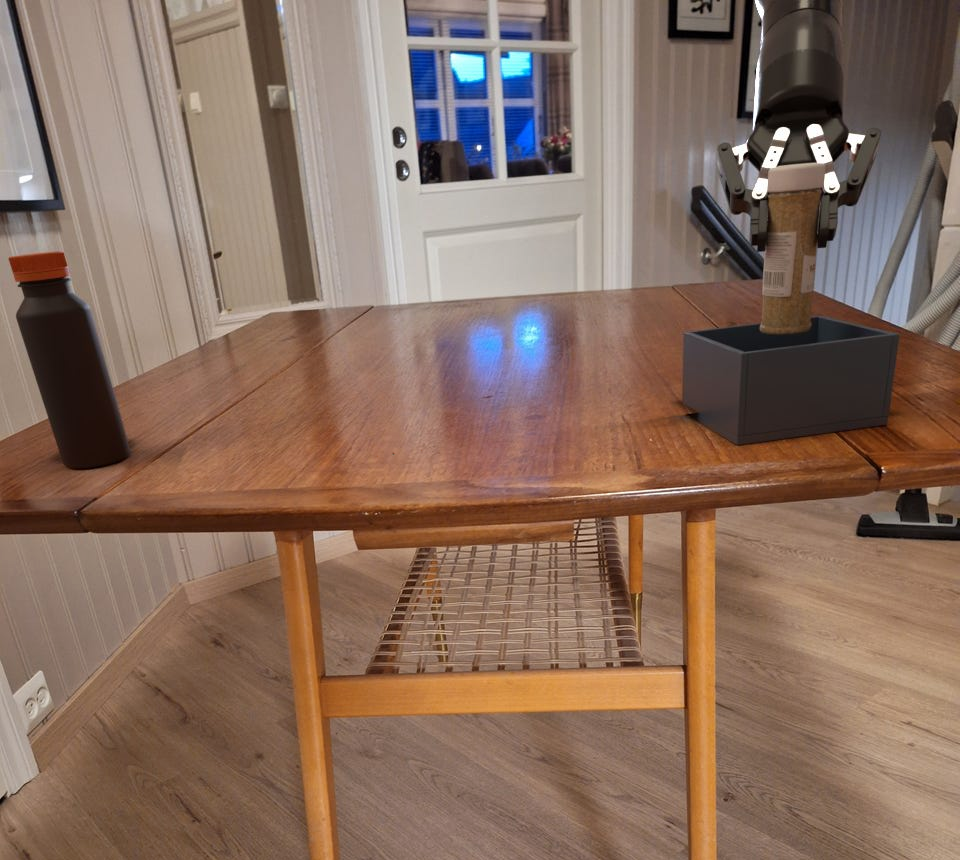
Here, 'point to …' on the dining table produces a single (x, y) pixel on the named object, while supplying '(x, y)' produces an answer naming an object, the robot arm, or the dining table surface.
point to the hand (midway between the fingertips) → (792, 242)
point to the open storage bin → (788, 379)
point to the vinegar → (68, 363)
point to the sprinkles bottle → (791, 247)
